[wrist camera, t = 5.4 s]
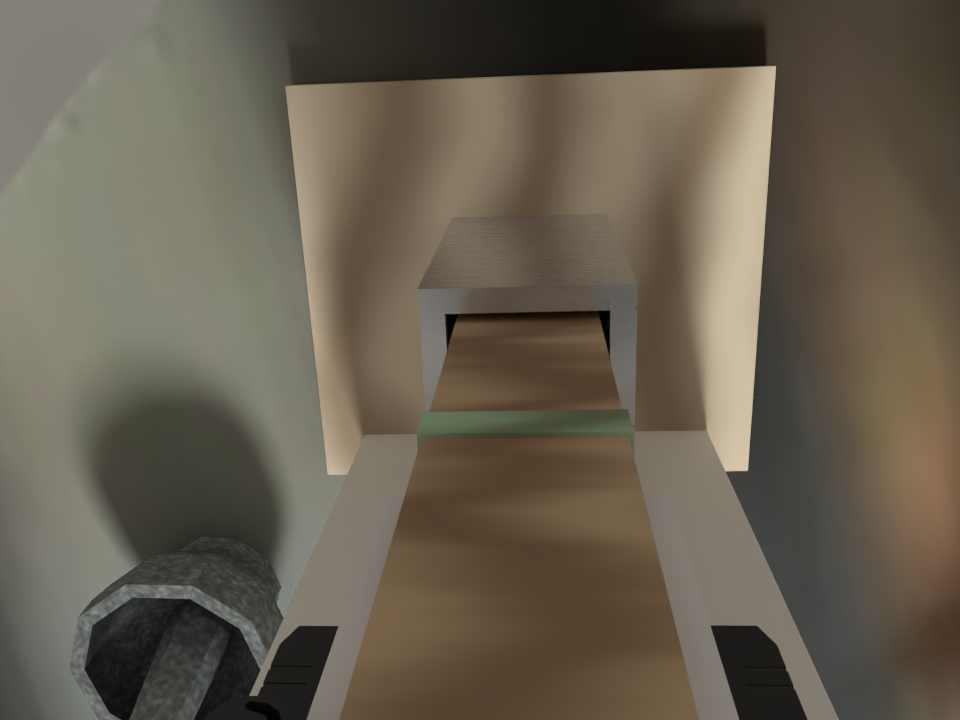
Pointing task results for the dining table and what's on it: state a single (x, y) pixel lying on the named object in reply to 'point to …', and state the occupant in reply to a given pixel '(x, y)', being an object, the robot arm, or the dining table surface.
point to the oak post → (523, 545)
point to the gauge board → (662, 472)
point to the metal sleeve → (530, 284)
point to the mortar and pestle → (178, 633)
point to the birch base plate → (528, 192)
